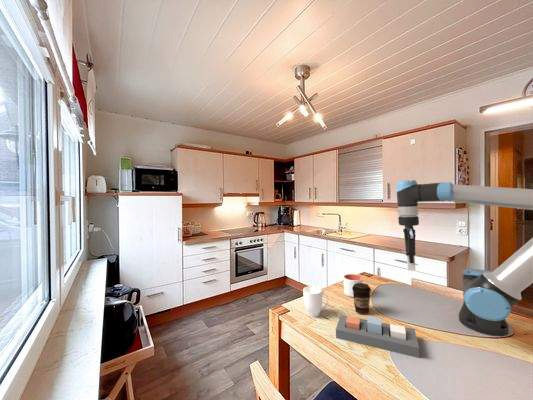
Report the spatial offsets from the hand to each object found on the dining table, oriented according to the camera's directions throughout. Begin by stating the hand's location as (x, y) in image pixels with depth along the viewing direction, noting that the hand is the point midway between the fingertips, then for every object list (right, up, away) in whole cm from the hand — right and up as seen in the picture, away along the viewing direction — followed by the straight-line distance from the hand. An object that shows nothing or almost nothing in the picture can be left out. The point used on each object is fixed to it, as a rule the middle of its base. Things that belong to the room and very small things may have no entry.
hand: (411, 269), depth 99 cm
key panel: (-20, -24, -9) cm, 33 cm away
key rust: (-27, -24, -5) cm, 37 cm away
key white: (-13, -23, -12) cm, 30 cm away
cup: (-14, -24, +30) cm, 40 cm away
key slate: (-20, -22, -9) cm, 31 cm away
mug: (-39, -25, +11) cm, 48 cm away
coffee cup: (-17, -24, +11) cm, 31 cm away
